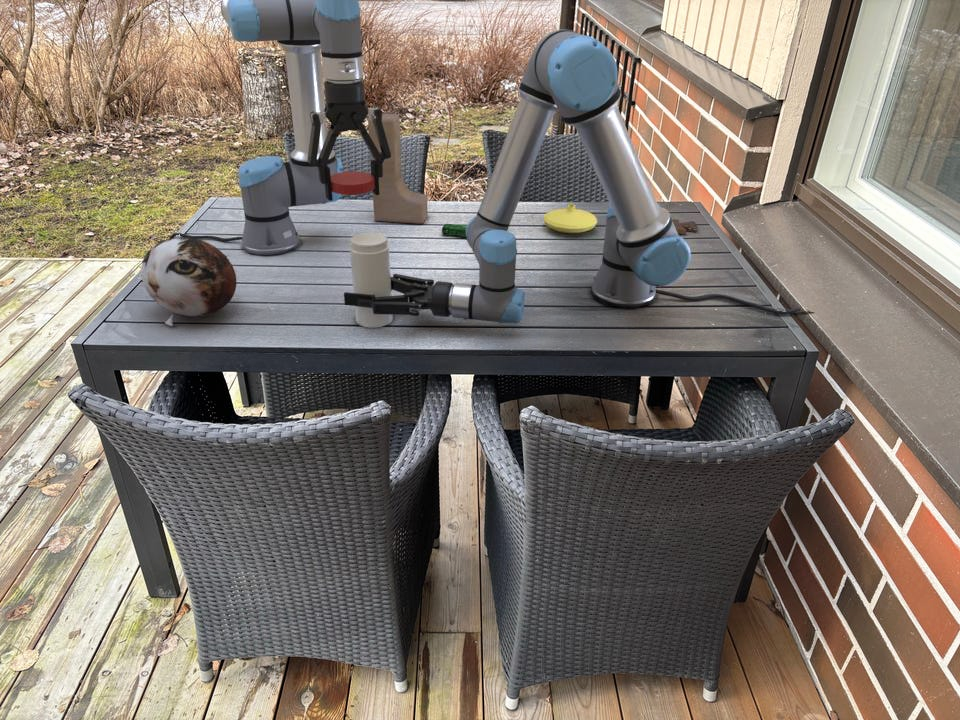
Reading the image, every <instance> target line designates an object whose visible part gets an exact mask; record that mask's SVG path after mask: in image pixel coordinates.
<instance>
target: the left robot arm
mask: <svg viewBox="0 0 960 720" xmlns="http://www.w3.org/2000/svg"><path fill="white" fill-rule="evenodd" d="M359 2H360V0H221V3H220V10H221V15H222V17H223V20H224V21H225V23H226V24H227V25H228V26H229V28H230V33H231V37H232V38H233V40H234V41H236V42H244V43H245V42H247V43H257V42H275V41H276V42H277V45H278V46H279V47H281V48H282V50H283V51H284V56H285V65H286V74H287V83H288V92H289V103H290V111H291V118H292V127H293V128H292V129H293V138H294V146H295V147H294V149H293V150H292V151H291V152H290V154H289V155H290V161H284V160H283V158H282V157H281V156H279V155H267V156H266V155H264V156H260V157H255V158H251V159H250V160H247V161H245V162H243V163H242V164H241V165H240V166H239V168H238V170H237V174H238V186H239V188H240V194H241V201H242V207H243V212H244V213H243V215H244V219H245V220H244V226H243V228H244V229H243V235H242V236H234V237H220V236H216V235H191V234H189V235H188V234H186V233H181V232H174V233H172V234H171V235H170V236H169V237H168V239H170V238H176V237H177V236H176V235H179V234H180V236H179V237H188V238H195V239H199V240H216V241H218V242H219V241H220V242H233V241H234V242H235V241H241V246H242V249H243V251H244V252H246V253H248V254H252V255H255V256H256V255H257V256H275V255H281V254H282V255H283V254H285V253H289V252H291V251H293V250H296V249H297V248H298V247H299V246H300V244H301V241H300V235H299V233H298V231H297V229H296V227H295V225H294V223H293V220H292V218H291V216H290V207H300V206H311V205H326V204H329V203H334V202H337V201H339V200H340V198H341V196H342V195H343V194H337V193H334V192H332V187H331V175H333V174H336V173H340V172H344V171H343V170H344V167H343V162H342V160H341V158H339V157H337V156H336V152H335V151H334V150H333V149H334V147H335V144H336V141H337V138H338V137H339V136H340V133H345V132H348V131H351V132H356V131H357V132H358V134H359V135H360V137H361V139H362V140H363V142H364V144H365V145H366V147H367V149H368V151H369V153H370V152H371V154H372V156H373V157H374V160H375V161H374V160H371V159H370V160H369V161H370V162H369V163H370V174H372V175H373V176H374V179H375V188H374V190H372V191H371V192H372V194H373V193H374V194H375V195H380V194H379V178H381V177H382V176H383V167H382V163H383V162H384V160H385V159H387V158H390V157H391V153H390V149H389V146H388V142H387V138H386V135H385V131H384V128H383V124H382V113H383V111H382V109H380V108H379V107H378V106H374V107H368V106H367V104H366V91H365V90H366V89H365V82H364V81H363V80H362V79H363V78H364V76H365V74H364V65H363V64H364V61H363V47H362V30H361V29H362V28H361V12H362V11H361V7H360V3H359ZM324 79H325V81H324ZM368 115H369V118H371V119H372V120H373V124H374V128H375V131H376V134H377V138H378V141H379V145H380V148H381V152H380V153H379V151H378V150H377V148H376V146H375V144H374V143H373V141H372V139H371V137H370V136H369V131H368V129H367V128H366V126H365V124H364V122H365V121H366V119H367V116H368ZM327 120H328V121H329V122H330V124H329V127H328V125H327Z"/></svg>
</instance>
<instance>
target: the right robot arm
mask: <svg viewBox="0 0 960 720" xmlns="http://www.w3.org/2000/svg"><path fill="white" fill-rule="evenodd" d="M518 93H519V96H520V99H519V101H518V103H517V107H516V109H515V111H514V115H513V117H512V120H511V123H510V126H509V127H508V128H509V129H508V131H507V133H506V136H505V138H504V141H503V144H502V146H501V150H500V152H499V155H498V156H497V157H498V158H497V160H496V162H495V166H494V168H493V171H492V174H491V176H490V178H489V181H488V184H487V187H486V189H485V192H484V195H483V197H482V200H481V202H480V205H479V208H478V210H477V213H476V215H475V216H474V217H473V218H471V219H470V221H468V223H467V225H466V226H467V228H466V236H467V237H466V242H467V244H468V245H469V247H470V249H471V250H472V252H473V255H474V257H475V259H476V261H477V263H478V266H479V267H478V270H479V272H478V275H479V276H478V277H479V278H478V284H473V283H463V282H455V283H453V282H451V281H442V280H438V281H435V280H434V279H433V278H432V279H431V278H420V277H415V276H409V275H404V274H398V273H393V274H392V276H391V291H392V292H393V291H395V292H398V293H401V295H400V294H399V295H398V294H397V295H392V296H386V297H375V294H373V295H368V294H358V293H353V292H348V291H347V292H346V291H344V293H343V301H344V306H352V307H355V306H359V307H369V308H373V314H391V315H393V316H394V315H400V316H412V317H419V316H420V311H422V310H429V311H431V313H432V315H433V316H435V317H444V318H449V317H450V316H451V317H452V318H455V319H463V320H464V321H467V320H472V321H473V320H474V321H481V322H482V321H483V322H491V323H498V324H519V323H520V322H521V321H522V318H523V316H524V310H525V299H526V298H525V291H524V289H521V288H518V287H516V267H517V253H518V248H517V238H516V236H515V234H514V233H512V232H510V231H508V230H509V227H510V225H511V222H512V219H513V217H514V214H515V212H516V210H517V207H518V206H519V202H520V199H521V197H522V194H523V192H524V190H525V187H526V184H527V182H528V180H529V177H530V176H531V172H532V170H533V167H534V165H535V162H536V160H537V158H538V155H539V152H540V150H541V148H542V146H543V142H544V141H545V138H546V135H547V133H548V130H549V128H550V125H551V123H552V120H553V118H554V116H555V114H556V112H559V114H560V117H561V119H562V122H563V123H564V124H565V125H567V126H570V127H574V128H575V130H576V132H577V134H578V137H579V139H580V140H581V144H582V145H583V147H584V150H585V152H586V154H587V156H588V159H589V161H590V163H591V165H592V167H593V169H594V172H595V174H596V177H597V179H598V180H599V183H600V185H601V188H602V189H603V191H604V194H605V196H606V198H607V200H608V203H609V206H608V207H607V208H608V209H607V213H606V217H605V219H606V220H605V229H604V239H603V248H602V249H603V250H602V259H601V264H600V266H599V268H598V270H597V273H595V276H594V277H593V281H592V283H591V291H590V294H591V296H592V297H593V298H594V299H595V300H596V301H598V302H600V303H602V304H603V305H606V306H610V307H614V308H618V309H639V308H644V307H647V306H650V305H651V304H652V303H654V302H655V300H656V294H657V295H662V296H666V297H667V296H668V297H672V298H675V299H680V300H682V301H683V300H684V301H688V302H689V301H690V302H693V301H694V302H695V301H703V300H706V299H722V300H726V301H727V300H728V301H731V302H734V303H737V304H740V305H744V306H747V307H751V308H755V309H757V310H761V311H764V312H768V313H771V314H777V315H790V314H794V313H797V312H800V311H802V310H801V308H800V307H799V306H796V307H794V308H793V307H792V308H790V309H784V310H785V311H786V312H782V311H777V310H778V309H776V308H771V307H767V306H765V305H762V304H758V303H755V302H751V301H748V300H744V299H741V298H737V297H735V296H731V295H727V294H720V293H708V294H702V295H697V296H688V295H683V294H679V293H676V292H671V291H667V290H661V289H657V288H656V287H664V286H667V285H670V284H672V283H674V282H675V281H677V280H678V279H680V278H681V277H682V276H683V275H684V273H685V272H686V271H687V268H688V266H689V265H690V262H691V259H692V258H691V256H692V252H691V248H690V246H689V244H688V242H687V241H686V239H684V238H683V237H681V236H680V235H679V233H677V231H676V228H675V226H674V223H673V221H672V219H673V218H672V215H671V213H670V211H669V210H668V209H666V208H664V207H661V206H660V204H659V203H658V201H657V200H656V198H655V195H654V193H653V190H652V187H651V185H650V183H649V180H648V178H647V176H646V173H645V171H644V168H643V166H642V164H641V161H640V159H639V156H638V153H637V151H636V149H635V146H634V143H633V141H632V138H631V136H630V134H629V132H628V129H627V127H626V123H625V122H624V120H623V116H622V114H621V112H620V109H619V107H618V105H619V103H620V100H621V98H622V91H621V89H620V87H619V85H618V65H617V61H616V59H615V57H614V55H613V54H612V52H611V50H610V49H609V48H608V47H607V46H606V45H605V44H603V43H602V41H599V40H598V39H597V38H594V37H592V36H590V35H584V34H581V33H579V32H577V31H574V30H571V29H557V30H554V31H551V32H549V33H548V34H545V36H543V37H542V38H541V39H540V40H539V41H538V43H537V44H536V46H535V47H534V49H533V51H532V53H531V56H530V58H529V60H528V63H527V65H526V68H525V70H524V74H523V76H522V79H521V82H520V84H519V87H518Z"/></svg>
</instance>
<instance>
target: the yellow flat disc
mask: <svg viewBox="0 0 960 720" xmlns="http://www.w3.org/2000/svg"><path fill="white" fill-rule="evenodd" d="M543 222H544V225H545V226H546V227H548V228H550V229H551V230H554V231H556V232H559V233H564V234H580V233H584V232H585V233H586V232H587V231H591V230H592V229H594V228H596V226H597V223H598V219H597V217H596V215H595V214H593V213H591V212H589V211H587V210H584V209H578V208H576V205H575V204H571V203H570V204H567V208H557V209H552V210H549V211H548V212H547V213H545V214H544V216H543Z"/></svg>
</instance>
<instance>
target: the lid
mask: <svg viewBox="0 0 960 720" xmlns="http://www.w3.org/2000/svg"><path fill="white" fill-rule="evenodd" d="M331 187H332V192H334V193H337V194H342V195H345V196H357V195H363V194H368V193H370V192H372V190H374V188H375V179H374V176H373V175H372V174H371V172H370V173H369V172H366V171H360V170H359V171H356V170H351V171H343V172H340V173H336V174H333V175H331Z"/></svg>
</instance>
